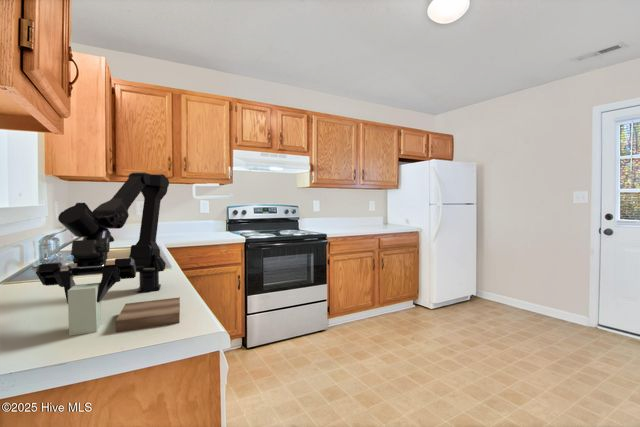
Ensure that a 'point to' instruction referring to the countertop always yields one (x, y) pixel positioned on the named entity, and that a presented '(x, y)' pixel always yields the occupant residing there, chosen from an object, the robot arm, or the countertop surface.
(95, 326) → the sage block
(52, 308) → the countertop surface
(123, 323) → the walnut stand
